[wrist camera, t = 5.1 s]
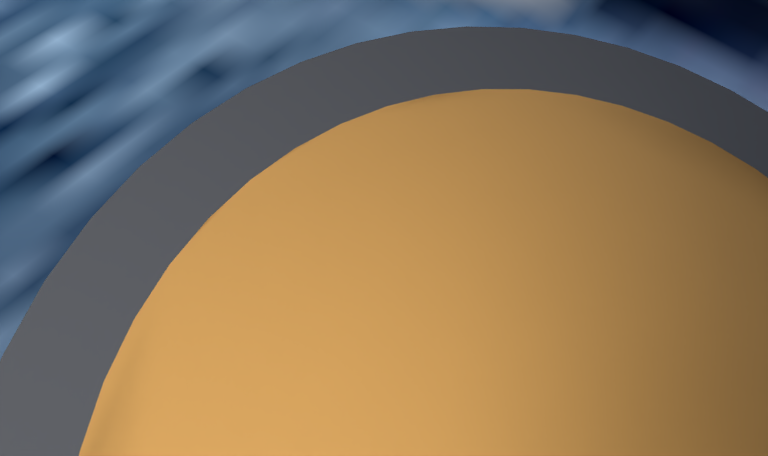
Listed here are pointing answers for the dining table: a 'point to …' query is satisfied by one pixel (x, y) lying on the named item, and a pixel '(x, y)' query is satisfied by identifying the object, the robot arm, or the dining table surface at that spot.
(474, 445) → the cable reel
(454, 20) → the dining table surface
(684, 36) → the dining table surface
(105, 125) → the dining table surface
